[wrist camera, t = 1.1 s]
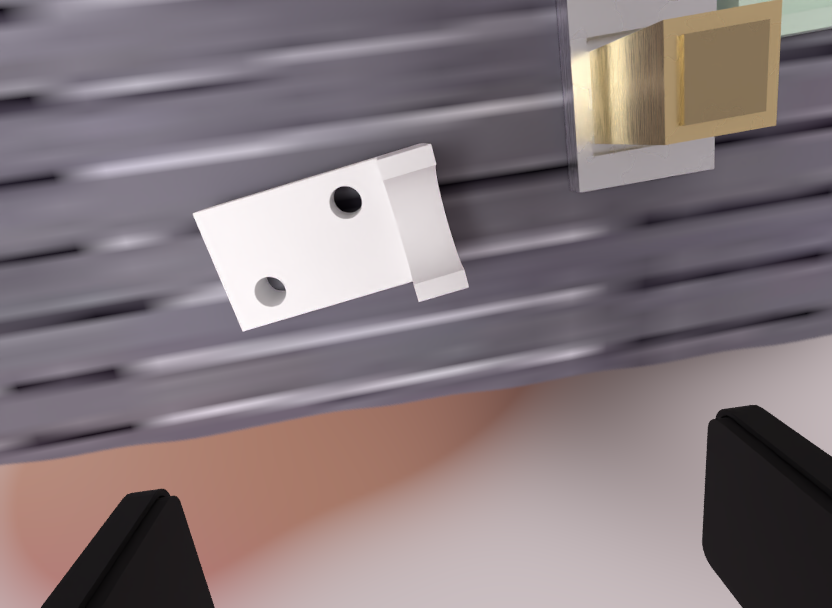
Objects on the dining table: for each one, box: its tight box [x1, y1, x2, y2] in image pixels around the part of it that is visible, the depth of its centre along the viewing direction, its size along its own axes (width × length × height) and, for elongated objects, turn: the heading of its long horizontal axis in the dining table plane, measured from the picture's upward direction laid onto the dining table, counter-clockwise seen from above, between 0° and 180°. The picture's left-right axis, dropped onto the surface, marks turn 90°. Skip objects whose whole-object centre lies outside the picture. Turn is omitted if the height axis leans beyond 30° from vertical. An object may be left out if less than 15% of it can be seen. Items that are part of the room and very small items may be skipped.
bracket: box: [193, 143, 469, 331], centre depth 28 cm, size 13×7×8 cm, turn 106°
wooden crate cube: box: [589, 0, 782, 145], centre depth 25 cm, size 5×5×8 cm
